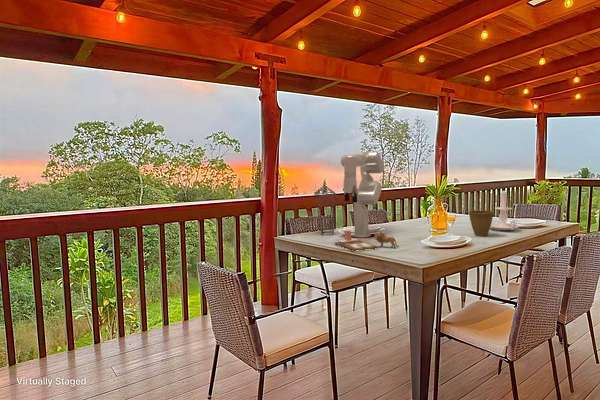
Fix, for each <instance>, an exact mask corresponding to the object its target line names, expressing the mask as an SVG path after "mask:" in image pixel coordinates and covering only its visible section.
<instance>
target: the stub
mask: <svg viewBox="0 0 600 400" xmlns="http://www.w3.org/2000/svg"><path fill="white" fill-rule="evenodd" d="M358 240H359V239H357V238H352V231H351V230H350V229H349V230H347V229H346V230H344V239H339V240H337V242H341V243H344V242H352V241H358Z"/></svg>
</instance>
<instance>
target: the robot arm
mask: <svg viewBox="0 0 600 400" xmlns="http://www.w3.org/2000/svg"><path fill="white" fill-rule="evenodd" d="M382 159H383V158H382V156H381V154H380V153H379V152H378V151H363V152H358V153H353V154H345V155H343V156H341V159H340V164H341V166H342V167H343V170H344V171H343V172H344V173H343V174H344V175H343V176H344V178H343V188H342V189H343V195H344V202H350V194H351V195H352V196H351V200H352V201H351V202H352V203H353V213H354V214H353V217H354V221H353V223H354V225H353V226H354V228H353V229H354V233H355V234H354V233H351V237H354V238H361V239H362V238H369V237H371V236H372V235H371V233H375V229H370V228H369V210H368V208H367V205H373V206H374V205H377V203H378V202H379V198H380V196H381V193H382V184H381V182H380V181H378V180H377V181H376V180H375V181H374V177H372V175H371V174H382V173H383V172H384V171H385V165H384V162H383V160H382ZM357 167H360V169H359V171H360V176H361V179H360V182H359V185H358V184H357V183H358V181H357Z"/></svg>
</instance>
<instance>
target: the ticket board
mask: <svg viewBox="0 0 600 400" xmlns="http://www.w3.org/2000/svg"><path fill="white" fill-rule="evenodd" d="M357 240H358V241H352V242H344V243H341V242H338V241H335V242H334V245H335V244H336V245H335V246H337V245H339V246H338V247H340V246H341V247H340V248H342V247H344V248H343V249H345V248H347V249H350V250H353V251H356V250H365V249H374V250H376V249H375V248H378V249H379V247H378V246H377V245H374V244H371V243H368V242H365V241H362V240H360V239H357ZM347 249H346V250H347ZM350 250H349V251H350ZM353 251H352V252H353Z"/></svg>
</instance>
